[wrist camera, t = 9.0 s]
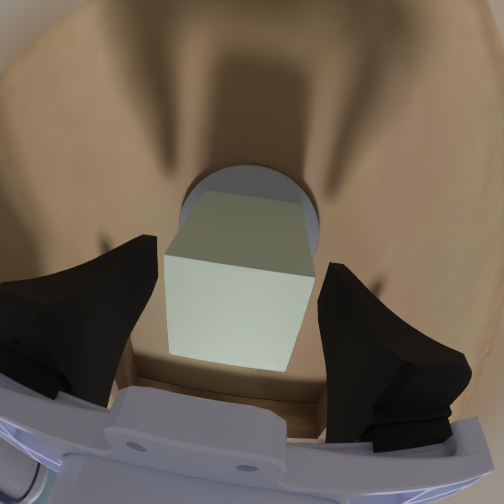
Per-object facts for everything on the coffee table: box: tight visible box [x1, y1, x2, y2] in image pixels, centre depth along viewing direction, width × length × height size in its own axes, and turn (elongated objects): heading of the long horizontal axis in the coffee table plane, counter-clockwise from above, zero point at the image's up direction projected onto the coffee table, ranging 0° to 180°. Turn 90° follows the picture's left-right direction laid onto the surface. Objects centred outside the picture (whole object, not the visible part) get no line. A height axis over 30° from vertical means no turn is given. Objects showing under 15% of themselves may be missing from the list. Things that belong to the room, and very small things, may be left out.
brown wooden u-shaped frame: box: [111, 336, 327, 443], centre depth 19 cm, size 17×10×4 cm, turn 82°
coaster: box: [179, 164, 319, 258], centre depth 15 cm, size 7×7×1 cm
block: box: [164, 190, 316, 372], centre depth 12 cm, size 4×4×6 cm
